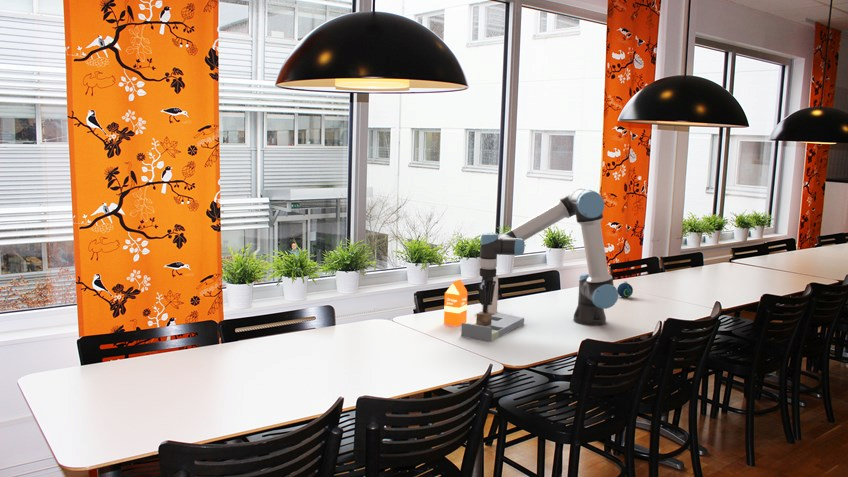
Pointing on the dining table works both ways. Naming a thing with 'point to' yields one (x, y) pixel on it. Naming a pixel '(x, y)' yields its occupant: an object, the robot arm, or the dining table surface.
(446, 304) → the orange juice
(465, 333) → the board
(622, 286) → the christmas ornament
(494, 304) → the milk carton
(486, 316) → the walnut cube
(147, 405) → the dining table surface
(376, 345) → the dining table surface
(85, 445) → the dining table surface
